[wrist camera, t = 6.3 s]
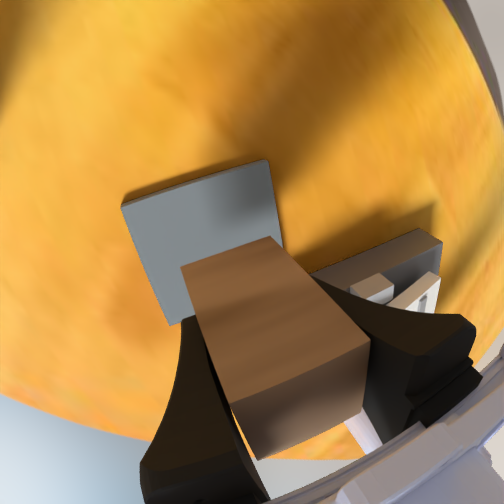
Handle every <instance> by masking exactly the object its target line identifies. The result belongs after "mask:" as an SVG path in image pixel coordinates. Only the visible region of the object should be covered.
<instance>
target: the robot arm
mask: <svg viewBox="0 0 504 504" xmlns="http://www.w3.org/2000/svg"><path fill="white" fill-rule="evenodd" d="M308 275H309V274H308ZM309 276H310V277H311V278H312V279H313V280H314V281H315V282H316V283H317V284H318V285H319V286H320V287H321V288H322V289H323V290H324V291H325V292H326V293H327V294H328V295H329V296H330V297H331V298H332V299H333V301H334V302H335V303H336V304H337V305H338V306H339V307H340V308H341V309H342V310H343V311H344V312H345V313H346V314H347V315H348V316H349V317H350V318H351V319H352V320H353V322H354V323H355V324H356V325H357V326H358V327H359V328H360V329H361V330H362V331H363V332H364V333H365V334H366V335H367V336H368V337H369V338H370V340H371V342H370V352H369V360H368V369H367V376H366V384H365V391H364V398H363V404H362V410H361V413H359V414H357V415H355V416H354V417H352V418H350V419H348V420H346V421H344V423H345V425H346V426H347V428H348V429H349V431H350V432H351V434H352V435H353V436H354V438H355V439H356V441H357V442H358V444H359V445H360V446H361V448H362V449H363V451H364V452H365V453H366V455H365V456H363V457H362V458H360V459H358V460H356V461H354V462H353V463H351V464H349V465H347V466H345V467H343V468H341V469H340V470H338V471H336V472H334V473H332V474H330V475H328V476H326V477H323V478H322V479H319V480H317V481H315V482H313V483H311V484H309V485H306V486H304V487H302V488H300V489H297V490H295V491H293V492H290V493H288V494H285V495H283V496H280V497H278V498H275V499H273V500H271V499H270V497H269V495H268V493H267V491H266V489H265V487H264V485H263V483H262V481H261V479H260V477H259V475H258V472H257V470H256V468H255V466H254V464H253V462H252V460H251V457H250V455H249V453H248V451H247V448H246V446H245V444H244V442H243V439H242V437H241V435H240V432H239V430H238V428H237V425H236V423H235V420H234V417H233V415H232V411H231V408H230V405H229V403H228V400H227V398H226V395H225V393H224V390H223V388H222V385H221V383H220V380H219V377H218V375H217V372H216V369H215V367H214V364H213V362H212V359H211V356H210V353H209V351H208V348H207V345H206V343H205V340H204V337H203V334H202V331H201V329H200V326H199V323H198V320H197V317H196V314H195V315H192V316H189V317H187V318H184V319H182V321H181V345H180V353H179V361H178V366H177V372H176V377H175V381H174V385H173V389H172V393H171V396H170V400H169V402H168V405H167V408H166V411H165V414H164V416H163V419H162V421H161V424H160V426H159V428H158V430H157V432H156V435H155V437H154V439H153V441H152V443H151V445H150V446H149V448H148V450H147V451H146V453H145V455H144V457H143V458H142V460H141V462H140V485H141V489H142V494H143V498H144V502H145V504H504V481H503V479H502V478H501V477H500V476H499V475H498V474H497V472H496V471H495V470H494V469H493V468H492V467H491V466H492V461H491V455H490V454H489V452H488V451H487V450H486V449H485V448H484V445H485V444H486V443H487V442H488V441H489V440H490V439H491V438H492V437H493V435H494V434H496V432H497V431H498V430H499V429H500V428H501V427H502V426H503V425H504V344H503V346H502V347H501V349H500V352H499V355H498V356H497V357H495V358H494V359H493V360H492V361H491V362H490V363H489V364H488V365H487V366H486V367H485V368H484V369H483V370H482V371H481V372H478V371H477V370H476V369H474V368H473V367H472V365H473V360H472V359H471V358H469V357H468V355H469V353H470V351H471V348H472V346H473V343H474V341H475V337H476V327H475V326H474V325H473V324H472V323H470V322H469V321H468V320H467V319H466V318H464V317H463V316H462V315H460V314H435V313H424V312H416V311H410V310H404V309H399V308H394V307H390V306H386V305H383V304H379V303H376V302H373V301H369V300H367V299H364V298H361V297H358V296H356V295H353V294H351V293H348V292H346V291H344V290H341V289H339V288H337V287H335V286H332V285H330V284H328V283H326V282H324V281H322V280H320V279H318V278H316V277H314V276H311V275H309Z"/></svg>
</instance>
